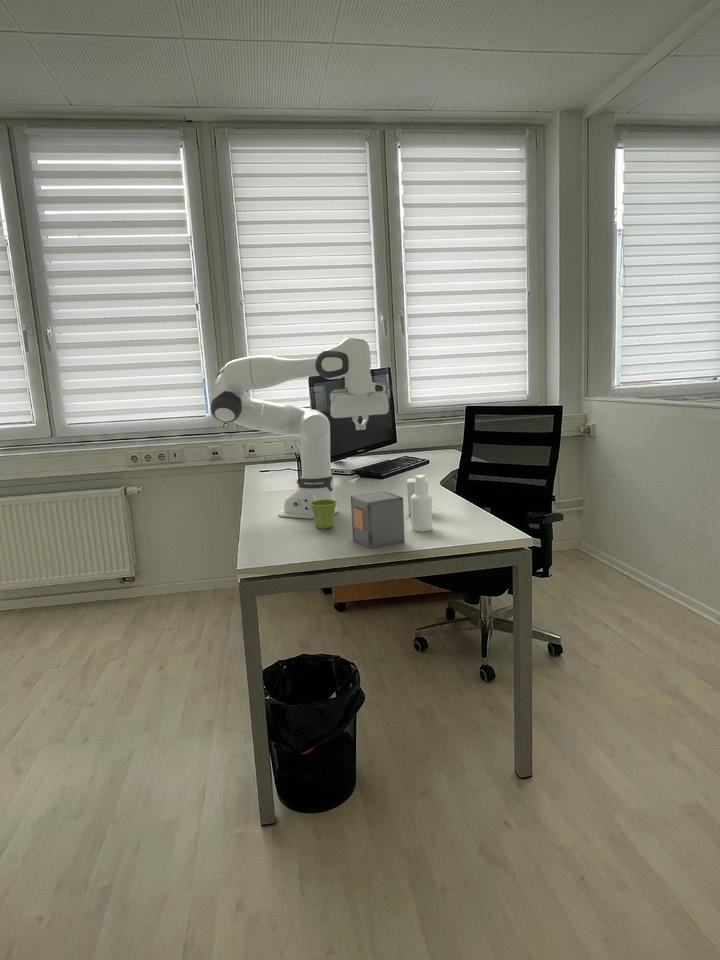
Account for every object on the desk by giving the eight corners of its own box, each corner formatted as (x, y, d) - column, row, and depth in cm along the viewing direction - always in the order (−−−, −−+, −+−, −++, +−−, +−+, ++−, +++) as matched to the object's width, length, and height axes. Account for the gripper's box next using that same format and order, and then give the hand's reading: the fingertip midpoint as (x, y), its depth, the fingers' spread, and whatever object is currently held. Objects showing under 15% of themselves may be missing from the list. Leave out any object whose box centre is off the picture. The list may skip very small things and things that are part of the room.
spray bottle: (433, 526, 199) (431, 473, 196) (431, 532, 192) (429, 477, 189) (413, 526, 200) (411, 474, 197) (410, 531, 194) (408, 477, 191)
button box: (369, 548, 178) (367, 502, 175) (353, 539, 189) (350, 496, 186) (404, 542, 183) (402, 497, 180) (386, 533, 193) (384, 491, 191)
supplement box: (428, 510, 222) (427, 477, 219) (428, 515, 214) (427, 481, 212) (408, 511, 222) (407, 478, 220) (408, 516, 215) (406, 481, 213)
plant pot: (340, 523, 210) (339, 499, 208) (335, 530, 201) (333, 505, 199) (315, 523, 211) (313, 499, 210) (308, 530, 202) (306, 505, 201)
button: (362, 530, 179) (361, 511, 178) (354, 526, 185) (353, 507, 184) (377, 527, 181) (376, 508, 180) (368, 523, 187) (367, 505, 186)
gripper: (333, 389, 189) (336, 433, 192) (390, 386, 198) (391, 427, 200) (326, 389, 195) (328, 431, 197) (381, 386, 203) (383, 426, 206)
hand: (360, 429), depth 199 cm, fingers closed
